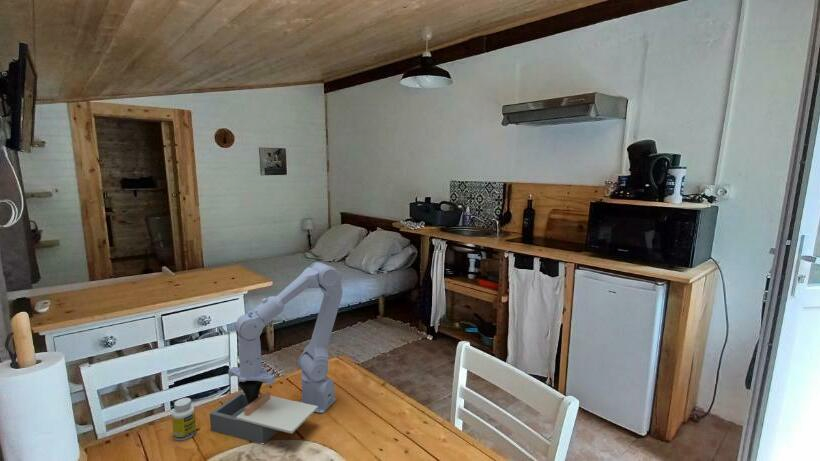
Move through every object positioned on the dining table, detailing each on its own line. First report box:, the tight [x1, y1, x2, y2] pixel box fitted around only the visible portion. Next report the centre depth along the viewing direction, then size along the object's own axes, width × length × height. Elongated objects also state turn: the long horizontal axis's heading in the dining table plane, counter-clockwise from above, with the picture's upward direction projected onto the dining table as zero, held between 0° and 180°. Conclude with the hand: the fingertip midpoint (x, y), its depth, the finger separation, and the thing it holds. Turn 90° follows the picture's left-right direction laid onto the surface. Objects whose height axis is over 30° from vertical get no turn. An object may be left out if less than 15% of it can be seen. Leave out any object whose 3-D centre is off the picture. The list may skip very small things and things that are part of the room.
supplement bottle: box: [171, 397, 197, 441], centre depth 110 cm, size 5×5×10 cm
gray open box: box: [209, 391, 280, 444], centre depth 115 cm, size 18×12×5 cm, turn 70°
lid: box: [236, 390, 318, 434], centre depth 111 cm, size 18×12×3 cm, turn 70°
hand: (253, 403), depth 114 cm, fingers closed
